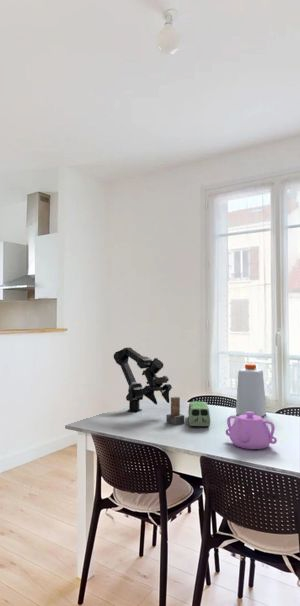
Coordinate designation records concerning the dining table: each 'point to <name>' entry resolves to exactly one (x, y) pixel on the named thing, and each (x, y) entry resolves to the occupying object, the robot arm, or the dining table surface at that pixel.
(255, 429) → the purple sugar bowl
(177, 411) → the tall wooden pillar block
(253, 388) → the plastic bottle
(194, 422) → the toy car
